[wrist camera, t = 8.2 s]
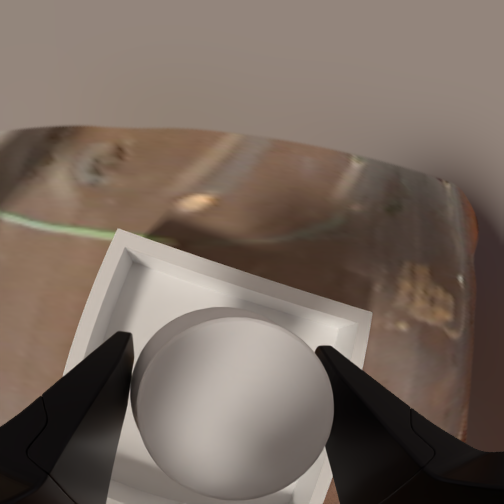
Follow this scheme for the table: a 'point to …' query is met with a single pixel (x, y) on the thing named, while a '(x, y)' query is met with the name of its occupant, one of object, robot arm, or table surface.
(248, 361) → the supplement bottle
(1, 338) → the table surface
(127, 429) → the box
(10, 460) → the robot arm
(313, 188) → the table surface
